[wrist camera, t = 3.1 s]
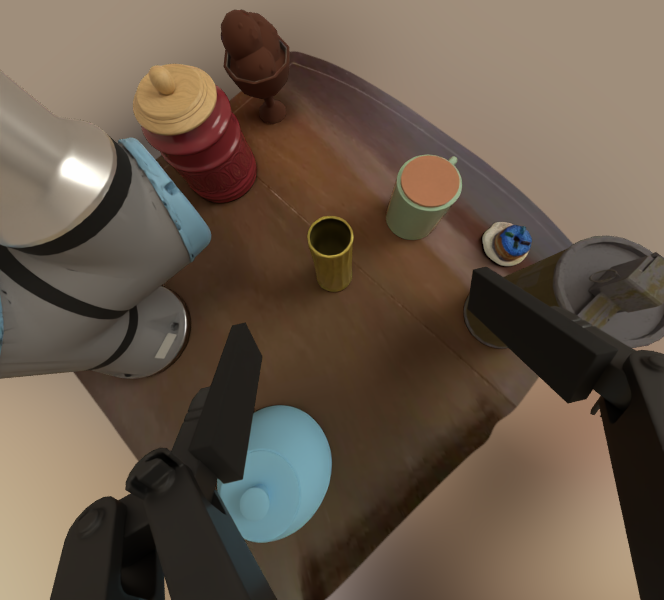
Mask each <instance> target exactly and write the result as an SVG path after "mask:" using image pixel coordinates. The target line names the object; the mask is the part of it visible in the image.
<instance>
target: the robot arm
mask: <svg viewBox="0 0 664 600" xmlns="http://www.w3.org/2000/svg"><path fill="white" fill-rule="evenodd" d="M210 240H211V232H210V229H209V227H208V226H207V224H206V223H205V222H204V220H203V219H202V218H201V216H200V215H199V214H198V212H197V211H196V210H195V208H194V207H193V206H192V205H191V203H190V202H189V201H188V200H187V198H186V197H185V196H184V195H183V193H182V192H181V191H180V190H179V189H178V188H177V187H176V185H175V184H174V182H173V181H172V180H171V179H170V178H169V176H168V175H167V173H166V172H165V171H164V170H163V169H162V167H161V166H160V165H159V164H158V163H157V161H156V160H155V159H154V158H153V157H152V156H151V154H150V153H149V152H148V151H147V150H146V148H145V147H144V146H143V145H142V144H141V143H140V142H139V141H138V140H137V139H134V138H127V139H122V140H121V139H120V140H119V141H118V143H116V142H115V141H114V140H113V139H112V138H111V137H110V136H109V135H108V134H106V133H105V132H104V131H103V130H102V129H101V128H99V127H97V126H96V125H94V124H92V123H90V122H87V121H84V120H77V119H70V118H63V117H58V116H56V115H54V114H53V113H52V112H51V111H49V110H48V109H47V108H46V107H45V106H43V105H42V104H41V103H40V102H39V101H37V100H36V99H35V98H34V97H33V96H31V95H30V94H29V93H28V92H27V91H25V90H24V89H23V88H22V87H20V86H19V85H18V84H17V83H16V82H14V81H13V80H12V79H11V78H10V77H8V76H7V75H6V74H5V73H4V72H2V71H1V70H0V379H1V378H11V377H23V376H33V375H43V374H53V373H64V372H76V371H87V370H92V371H96V372H100V373H104V374H107V375H111V376H115V377H119V378H128V379H136V378H144V377H149V376H153V375H156V374H158V373H160V372H162V371H164V370H165V369H167V368H168V367H170V366H171V365H172V364H173V363H174V362H175V361H176V360H177V359H178V358H179V357H180V355H181V354H182V352H183V351H184V349H185V347H186V345H187V343H188V340H189V336H190V331H191V318H190V313H189V310H188V307H187V305H186V304H185V302H184V301H183V299H182V298H181V297H180V296H179V295H178V294H177V293H175V292H174V291H172V290H170V289H168V288H165V287H162V286H161V285H162V284H164V283H165V282H166V281H167V280H169V279H170V278H171V277H173V276H174V275H175V274H176V273H178V272H179V271H180V270H181V269H183V268H184V267H185V266H187V265H188V264H189V263H191V262H193V261H194V258H195V257H196V256H197V255H198V254H199V253H200V252H201V251H202V250H203V249H204V248H206V247H207V246H208V244H209V243H210ZM467 309H468V310H469V311H470V312H471V313H472V314H473V315H474V316H475V317H476V318H478V319H479V320H480V321H481V322H482V323H483V324H484V325H485V326H486V327H487V328H488V329H489V330H490V331H491V332H492V333H493V334H495V335H496V336H497V337H498V338H499V339H500V340H501V341H502V342H503V343H504V344H505V345H506V346H507V347H508V348H509V349H510V350H512V351H513V352H514V353H515V354H516V355H517V356H518V357H519V358H520V359H521V360H522V361H523V362H524V363H525V364H526V365H527V366H528V367H530V368H531V369H532V370H533V371H534V372H535V373H536V374H537V375H538V376H539V377H540V378H541V379H542V380H544V382H545V383H547V384H548V385H549V386H550V387H551V388H552V389H553V390H554V391H555V392H556V393H557V394H558V395H559V396H560V397H562V399H564V400H565V401H566V402H567V403H572V402H575V401H580V400H584V399H587V397H588V396H589V394H590V393H591V391H592V390H593V389H594V390H595V391H596V392H597V393H599V394H600V395H601V396H600V398H599V399H598V400H597V402H596V403H595V405H594V406H593V407H592V409H591V414H592V415H595V414H596V412H597V411H598V410H599V409H600V412H601V416H600V417H602V421H603V426H604V431H605V435H606V440H607V445H608V449H609V454H610V459H611V464H612V468H613V473H614V478H615V482H616V487H617V492H618V496H619V501H620V506H621V510H622V515H623V520H624V525H625V529H626V534H627V538H628V543H629V548H630V552H631V557H632V562H633V567H634V571H635V576H636V580H637V585H638V590H639V595H640V599H641V600H664V354H662V353H658V352H654V351H647V350H639V351H636V350H634V349H632V348H630V347H629V346H627V345H625V344H624V343H622V342H620V341H619V340H617V339H615V338H614V337H612V336H610V335H609V334H607V333H605V332H604V331H602V330H600V329H599V328H597V327H595V326H592V324H590V323H589V322H587V321H585V320H582V318H580V317H579V316H577V315H575V314H574V313H572V312H570V311H568V310H565V309H562V308H560V307H557V306H551V307H550V306H548V305H547V304H545V303H543V302H542V301H540V300H539V299H537V298H535V297H534V296H532V295H531V294H529V293H527V292H526V291H524V290H523V289H521V288H519V287H518V286H516V285H515V284H513V283H512V282H510V281H508V280H507V279H505V278H504V277H502V276H500V275H499V274H497V273H496V272H494V271H492V270H491V269H489V268H488V267H483V268H479V269H474V270H473V274H472V281H471V287H470V294H469V301H468V307H467ZM261 362H262V355H261V353H260V351H259V349H258V347H257V345H256V343H255V341H254V339H253V337H252V335H251V333H250V331H249V329H248V327H247V325H246V323H241V324H237V325H233V326H232V327H231V330H230V333H229V336H228V339H227V341H226V344H225V347H224V350H223V353H222V355H221V358H220V361H219V364H218V367H217V370H216V372H215V375H214V378H213V381H212V384H211V386H210V387H206V388H202V389H200V390H199V392H198V393H197V394H196V396H195V397H194V398H193V399H192V402H191V404H190V407H189V409H188V413H187V414H186V416H185V419H184V423H183V424H182V426H181V429H180V431H179V433H178V436H177V438H176V441H175V443H174V446H173V448H172V451H169V450H168V449H167V448H159V449H156V450H153V451H151V452H150V453H148V454H147V455H145V456H144V457H143V458H142V459H141V460H140V461H139V462H138V463H137V464H136V465H135V466H134V468H133V469H132V471H131V472H130V474H129V476H128V478H127V481H126V491H128V492H130V493H131V494H129V495H127V496H125V497H124V498H122V499H120V500H117V499H115V498H113V497H111V496H110V497H103V498H101V499H99V500H97V501H95V502H94V503H92V504H91V505H90V506H89V507H87V508H86V509H85V510H84V511H83V512H82V513H81V514H80V515H79V516H78V518H77V519H76V520H75V522H74V523H73V525H72V526H71V527H70V529H69V531H68V534H67V536H66V539H65V542H64V545H63V549H62V554H61V557H60V561H59V565H58V569H57V573H56V577H55V582H54V585H53V589H52V593H51V597H50V600H165V590H164V589H165V588H164V577H165V580H166V583H167V587H168V590H169V594H170V597H171V600H277V598H276V597H275V595H274V593H273V591H272V589H271V588H270V586H269V584H268V582H267V580H266V579H265V577H264V575H263V573H262V571H261V570H260V568H259V566H258V564H257V562H256V561H255V559H254V557H253V555H252V553H251V551H250V550H249V548H248V546H247V544H246V542H245V541H244V539H243V537H242V535H241V533H240V532H239V530H238V528H237V526H236V524H235V523H234V521H233V519H232V517H231V515H230V514H229V512H228V510H227V508H226V506H225V505H224V503H223V501H222V499H221V497H220V496H219V494H218V492H217V491H216V490H215V486H216V482H217V478H218V479H219V480H220V481H221V482H222V483H223V484H226V483H231V482H235V481H239V480H243V476H244V470H245V463H246V457H247V451H248V444H249V438H250V432H251V425H252V419H253V413H254V406H255V400H256V394H257V387H258V381H259V375H260V368H261Z"/></svg>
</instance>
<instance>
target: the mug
mask: <svg viewBox="0 0 664 600" xmlns="http://www.w3.org/2000/svg"><path fill="white" fill-rule="evenodd" d="M456 162H457V158H456V157H454V156H453V157H451V158H450V159H449V160H446V159H444V158H442V157H439V156H435V155H420V156H417V157H414V158H412V159H410V160H409V161H407V162H406V163H405V164H404V165H403V166H402V167H401V169H400V171H399V173H398V176H397V179H396V182H395V185H394V188H393V191H392V194H391V198H390V201H389V204H388V207H387V210H386V222H387V224H388V226H389V228H390V230H391V231H392V232H393V233H394V234H396V235H397V236H399V237H401V238H403V239H407V240H418V239H422V238H424V237H426V236H428V235H429V234H430V233H431V232H432V231H433V230H434V228H435V227H436V226H437V225H438V223H439V222H440V221H441V219H442V218H443V217H444V215H445V214H446V213H447V211H448V210H449V209H450V208H451V206H452V205H453V204H454V202H455V201H456V200H457V198H458V197H459V195H460V193H461V189H462V180H461V176H460V173H459V172H458V170H457V168H456V167H455V164H456Z"/></svg>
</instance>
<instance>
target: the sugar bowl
mask: <svg viewBox="0 0 664 600" xmlns="http://www.w3.org/2000/svg"><path fill="white" fill-rule="evenodd" d="M331 468H332V460H331V452H330V447H329V444H328V441H327V439H326V436H325V434H324V432H323V431H322V429H321V427H320V426H319V425H318V424H317V422H316V421H315V420H314V419H313V418H312V417H311V416H309V415H308V414H307V413H305V412H303V411H301V410H300V409H297V408H294V407H290V406H284V405H276V406H270V407H266V408H263V409H261V410H259V411H257V412H255V413H253V419H252V425H251V432H250V438H249V444H248V451H247V457H246V463H245V470H244V476H243V480H239V481H235V482H231V483H226V484H223V483H222V482H221V481H220V480H219V479H218V478H217V490H218V494H219V496H220V497H221V499H222V501H223V503H224V505H225V506H226V508H227V510H228V512H229V514H230V515H231V517H232V519H233V521H234V523H235V524H236V526H237V528H238V530H239V532H240V533H241V535H242V537H243V538H244V539H246V540H249V541H252V542H259V543H262V542H270V541H275V540H279V539H282V538H284V537H287V536H289V535H290V534H292V533H294V532H296V531H297V530H298V529H300V528H301V527H302V526H303V525H304V524H305V523H306V522H308V521H309V520H310V519H311V517H312V516H313V515H314V514H315V512H316V511H317V509H318V508H319V506H320V504H321V503H322V501H323V498H324V496H325V494H326V492H327V489H328V486H329V482H330V476H331Z"/></svg>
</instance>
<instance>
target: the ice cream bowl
mask: <svg viewBox="0 0 664 600" xmlns="http://www.w3.org/2000/svg"><path fill="white" fill-rule="evenodd" d="M221 31H222V32H221V40H222V42H223V45H224V47H225V49H226V50H225V58H224V68H225V70H226V72H227V73H228V75H229V76H230V78H231V79H232V80H233V81H234V82H235V84H236V85H237V86H238V87H239V88H240V89H241V90H242V92H243V93H244V94H246V95H249V96H251V97H256V98H261V99H264V100H265V102H264V103H263V104H262V105H261V106H260V118H261V119H262V120H263V121H264V122H265V123H270V124H274V123H277V122H280V121H281V120H282V119H283V118H284V117H285V116H286V107H285V106H284V105H283V103H282V102H281V101H279V100H274V98H273V96H275V95H276V94H277V93H278V92H279V91H280V89H281V88H282V87H283V86H284V85H285V83H286V82H287V80H288V75H289V46H288V45H287V44H286V43H285V42H284V41H283V40H282V39H281V38H280V36H279V35H278V34H277V30H276V29H275V28H274V27H273V25H272V24H270V23H269V22H268V21H267V20H266V19H265V18H264V17H263V16H261V15H260V14H258V13H252V12H249V13H248V12H246V11H244V10H233V11H231V12H229V13H227V14H226V16H225V18H224V20H223V22H222V24H221Z"/></svg>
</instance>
